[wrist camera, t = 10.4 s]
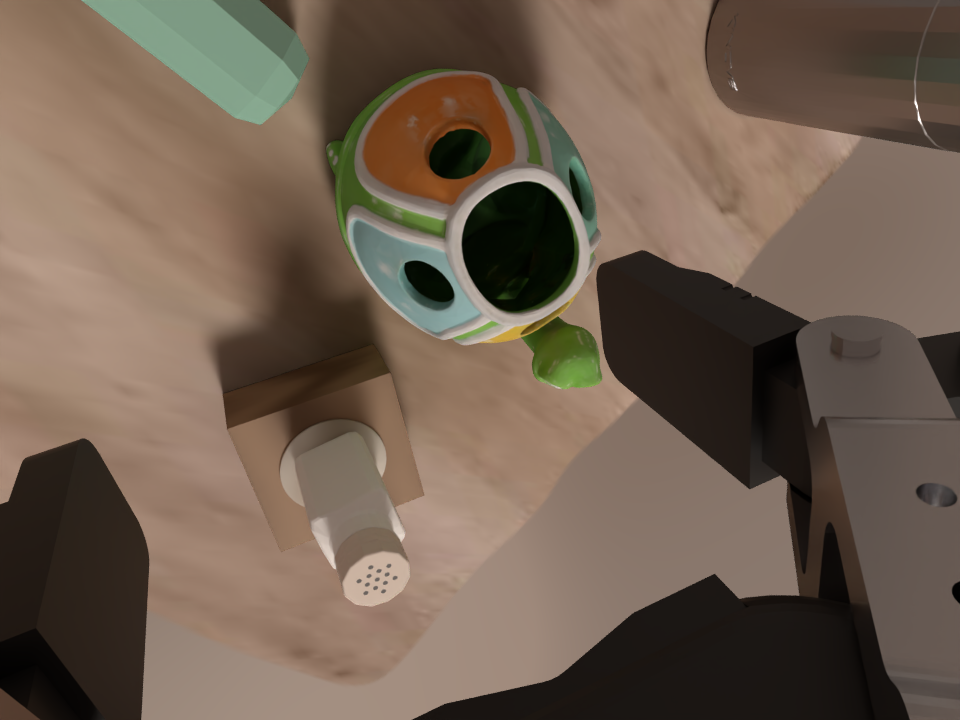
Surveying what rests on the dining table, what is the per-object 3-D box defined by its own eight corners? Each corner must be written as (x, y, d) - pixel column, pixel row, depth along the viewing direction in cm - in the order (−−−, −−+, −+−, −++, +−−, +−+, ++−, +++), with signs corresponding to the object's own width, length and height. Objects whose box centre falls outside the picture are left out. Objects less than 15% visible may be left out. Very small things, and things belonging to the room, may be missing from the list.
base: (373, 344, 42) (391, 374, 38) (406, 460, 46) (425, 496, 43) (222, 394, 39) (227, 431, 36) (272, 511, 44) (281, 554, 40)
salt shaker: (288, 455, 38) (318, 571, 30) (356, 423, 39) (403, 529, 31) (317, 506, 40) (352, 627, 32) (381, 475, 41) (430, 586, 33)
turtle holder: (445, 390, 45) (522, 496, 35) (272, 149, 35) (311, 202, 25) (597, 280, 46) (714, 354, 36) (470, 14, 36) (584, 14, 26)
